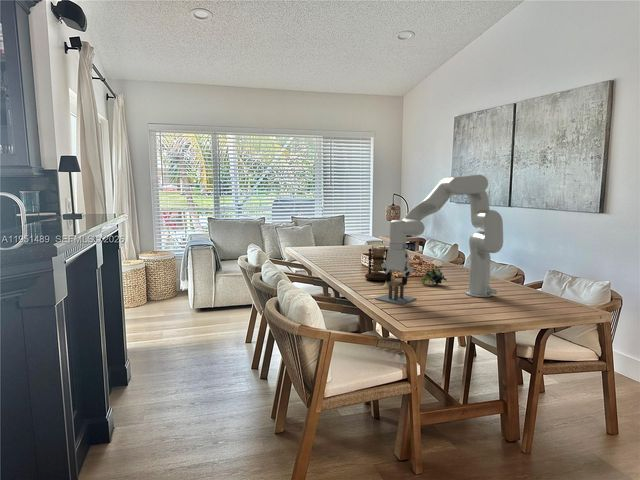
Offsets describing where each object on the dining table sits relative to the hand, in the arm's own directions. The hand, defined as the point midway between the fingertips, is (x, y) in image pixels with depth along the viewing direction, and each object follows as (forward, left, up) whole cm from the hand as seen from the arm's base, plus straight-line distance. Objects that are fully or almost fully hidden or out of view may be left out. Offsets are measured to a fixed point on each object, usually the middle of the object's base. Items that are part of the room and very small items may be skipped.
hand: (396, 283), depth 196 cm
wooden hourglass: (+31, -31, -8) cm, 45 cm away
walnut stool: (0, 0, -7) cm, 7 cm away
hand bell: (+15, -19, -8) cm, 26 cm away
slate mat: (0, 0, -8) cm, 8 cm away
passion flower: (+1, -40, -8) cm, 41 cm away
